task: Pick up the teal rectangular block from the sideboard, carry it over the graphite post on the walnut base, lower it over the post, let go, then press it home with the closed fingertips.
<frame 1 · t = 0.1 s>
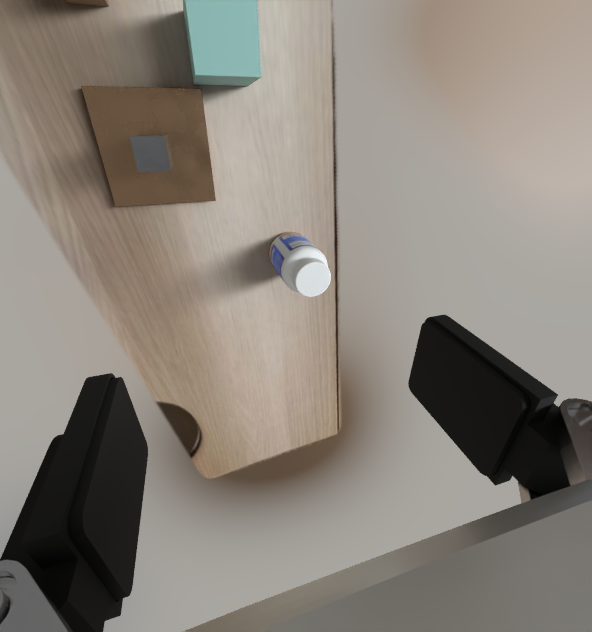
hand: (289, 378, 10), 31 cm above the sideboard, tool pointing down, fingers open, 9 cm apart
pill bottle: (288, 250, 41), on the sideboard
post: (157, 149, 32), on the sideboard
teal rectangular block: (217, 50, 29), on the sideboard
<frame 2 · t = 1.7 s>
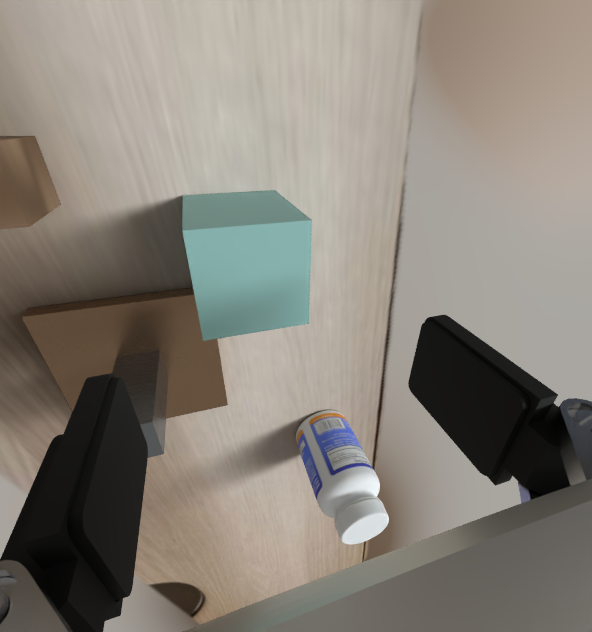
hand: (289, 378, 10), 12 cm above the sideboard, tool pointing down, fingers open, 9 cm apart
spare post: (11, 173, 15), on the sideboard
pill bottle: (319, 426, 32), on the sideboard
post: (144, 359, 22), on the sideboard
teal rectangular block: (235, 237, 19), on the sideboard
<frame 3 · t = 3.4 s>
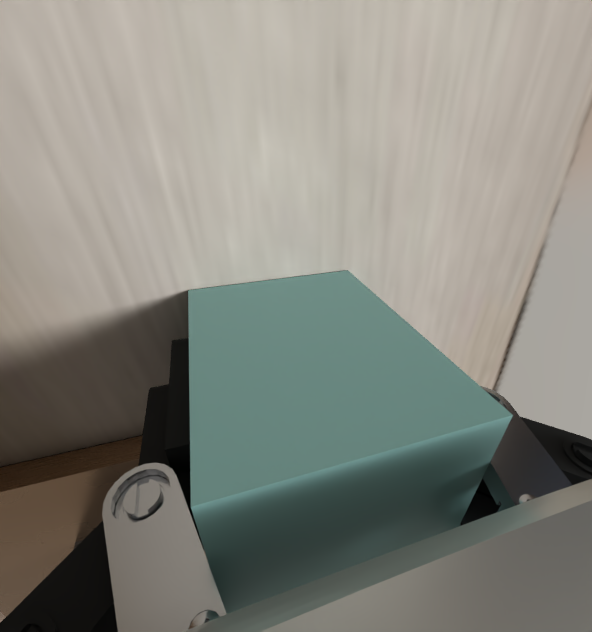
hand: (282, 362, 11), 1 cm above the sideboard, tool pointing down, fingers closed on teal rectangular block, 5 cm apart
post: (126, 522, 14), on the sideboard
teal rectangular block: (275, 345, 11), on the sideboard, touching gripper
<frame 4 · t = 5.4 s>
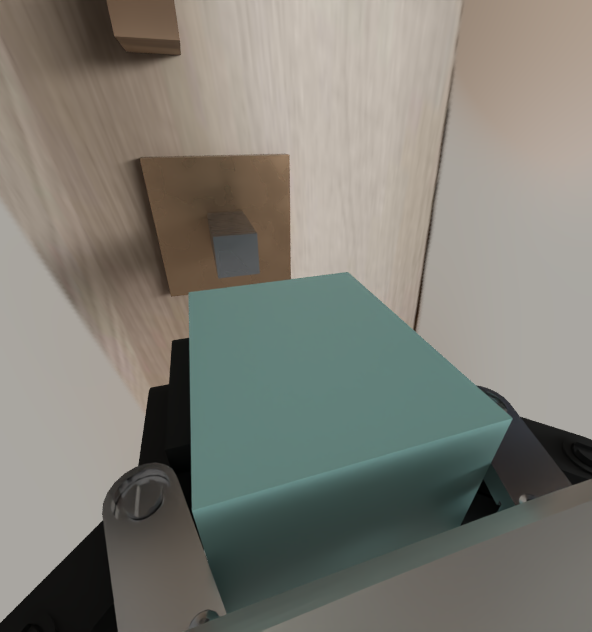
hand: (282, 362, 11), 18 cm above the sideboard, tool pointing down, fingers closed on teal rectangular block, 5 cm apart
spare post: (148, 19, 18), on the sideboard
post: (225, 226, 25), on the sideboard
teal rectangular block: (276, 347, 11), point 17 cm above the sideboard, touching gripper
when the fingers open (3 cm above the sideboard, at t = 7.9 s): teal rectangular block stays where it is, resting on post.
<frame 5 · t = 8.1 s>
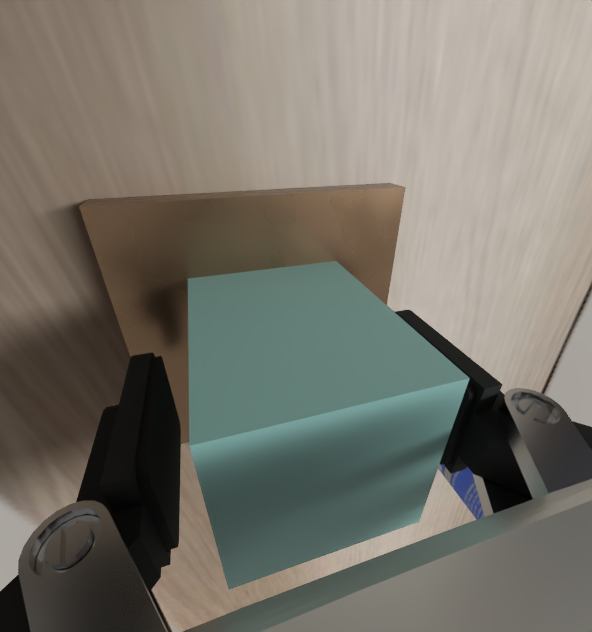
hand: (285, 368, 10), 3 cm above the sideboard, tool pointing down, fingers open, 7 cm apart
pill bottle: (459, 432, 23), on the sideboard
post: (264, 319, 13), on the sideboard
teal rectangular block: (270, 332, 12), point 1 cm above the sideboard, touching post
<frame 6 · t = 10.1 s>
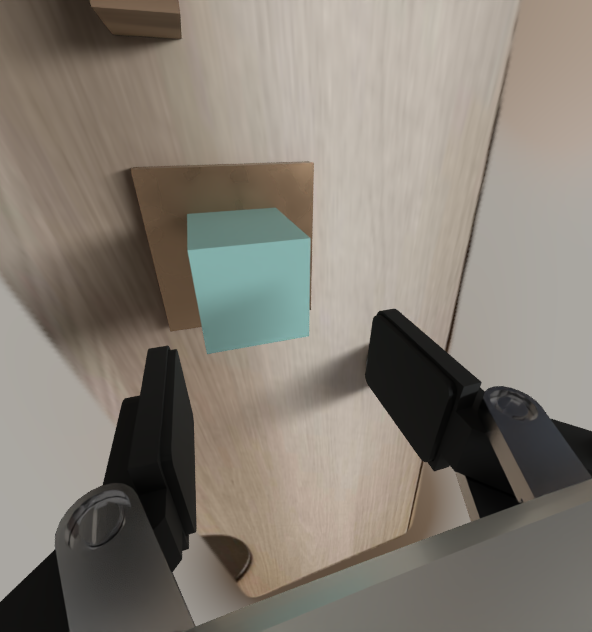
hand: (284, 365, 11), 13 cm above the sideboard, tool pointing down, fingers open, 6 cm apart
post: (235, 247, 21), on the sideboard
teal rectangular block: (237, 252, 20), point 1 cm above the sideboard, touching post
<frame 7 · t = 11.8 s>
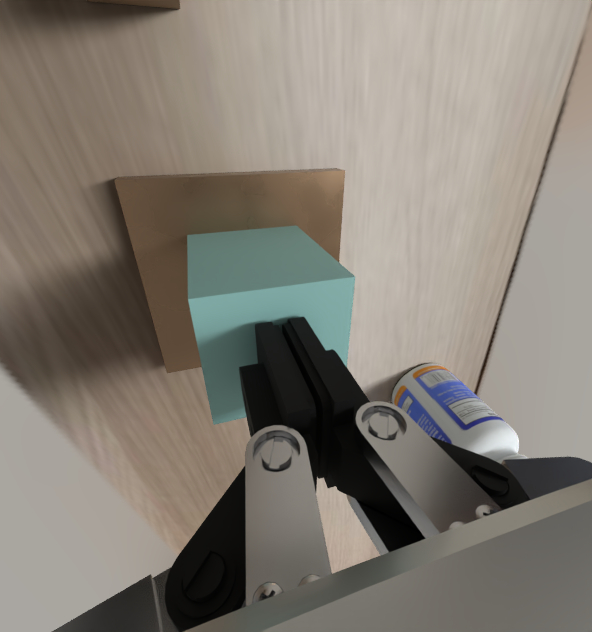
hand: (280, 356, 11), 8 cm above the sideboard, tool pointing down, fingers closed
pill bottle: (416, 385, 27), on the sideboard
post: (245, 272, 17), on the sideboard
teal rectangular block: (248, 280, 16), point 1 cm above the sideboard, touching gripper, post
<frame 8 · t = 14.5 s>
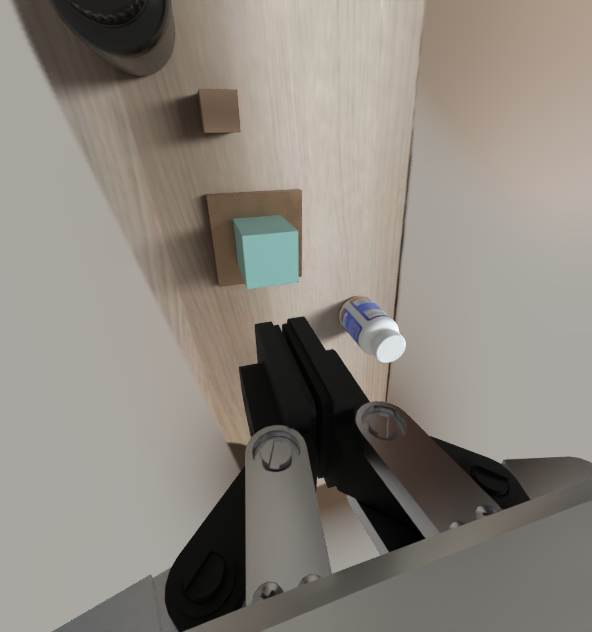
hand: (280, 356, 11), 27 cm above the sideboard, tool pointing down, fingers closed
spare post: (216, 113, 30), on the sideboard
supplement bottle: (129, 23, 25), on the sideboard
pill bottle: (354, 310, 46), on the sideboard
post: (257, 237, 36), on the sideboard
teal rectangular block: (258, 240, 36), point 1 cm above the sideboard, touching post
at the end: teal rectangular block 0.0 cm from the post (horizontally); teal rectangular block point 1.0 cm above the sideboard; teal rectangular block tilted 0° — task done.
